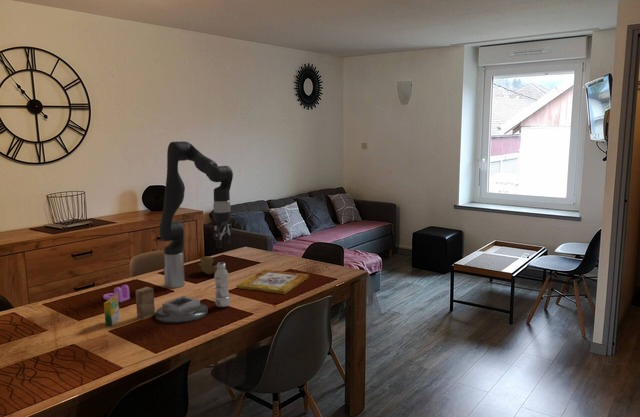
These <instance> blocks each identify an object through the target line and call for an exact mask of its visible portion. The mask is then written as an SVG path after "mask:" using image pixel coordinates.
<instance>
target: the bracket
mask: <svg viewBox="0 0 640 417" xmlns="http://www.w3.org/2000/svg"><path fill="white" fill-rule="evenodd" d="M117 293H118V303H123V302H125V301H128V300H130V299H131V296H130V295H131V294H130V286H129V285H128V284H123V285H121V286H117V287H114V290H113V292H111V293H110V292H109V293H105V294H103V298H102V299H104V300H106V301H108V300H109V299H110V298H112V297H113V296H115V295H116V294H117ZM114 298H116V297H114Z"/></svg>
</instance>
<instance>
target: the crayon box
mask: <svg viewBox="0 0 640 417" xmlns="http://www.w3.org/2000/svg"><path fill="white" fill-rule="evenodd" d="M114 297H116V298H114ZM103 310H104V321H105V323H104V324H105V326H106V327H113V326H114V325H115V324H116V323H118V322H119V321H120V320H121V318H120V315H121V314H120V306H119V302H118V293H117V294H116V295H115V296H113V297H112V298H110V299H109V300H106V301H105V302H103Z"/></svg>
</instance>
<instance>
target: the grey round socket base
mask: <svg viewBox="0 0 640 417" xmlns="http://www.w3.org/2000/svg"><path fill="white" fill-rule="evenodd" d="M208 312H209V309H208V306H207V305H206V304H204V303H202V302H201V299H199V298H194V297H191V296H190V297H189V296H186V295H181V296H180V297H176V298H174V299H172V300H169V301H166V302H163V303H162V306H161V307H159V308H158V309H157V310H155V315H154V316H155V318H154V319H156V320H157V321H158V322H161V323H165V324H185V323H191V322H194V321H198V320H200V319H202V318H204V317H206V315H208Z"/></svg>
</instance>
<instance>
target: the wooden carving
mask: <svg viewBox="0 0 640 417" xmlns="http://www.w3.org/2000/svg"><path fill="white" fill-rule="evenodd" d="M199 259H200V262H199V263H198V266H200V270H201V271H202V272H204V273H205V274H206V275H207V274H208V275H212V274H213V275H215V272H216V271H217V269H218V268H217V264H216V260H215V258H213V257H211V256H209V255H207V256H202V257H200V258H199Z"/></svg>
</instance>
